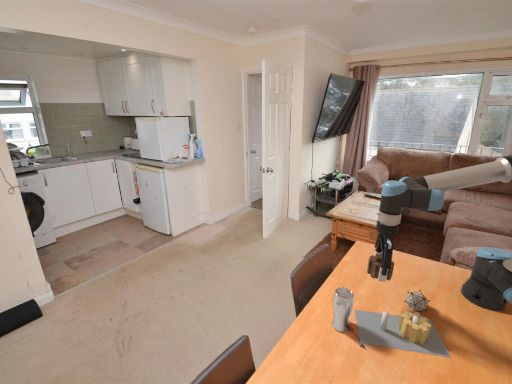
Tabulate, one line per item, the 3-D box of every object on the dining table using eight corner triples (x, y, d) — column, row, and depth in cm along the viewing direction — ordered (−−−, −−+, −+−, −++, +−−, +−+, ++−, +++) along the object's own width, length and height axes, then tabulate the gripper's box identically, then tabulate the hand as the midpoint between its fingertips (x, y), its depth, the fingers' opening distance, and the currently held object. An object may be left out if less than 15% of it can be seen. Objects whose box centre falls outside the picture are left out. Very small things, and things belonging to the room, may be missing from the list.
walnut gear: (388, 268, 109) (391, 256, 107) (394, 282, 101) (397, 269, 99) (365, 266, 111) (367, 253, 109) (369, 279, 103) (371, 266, 101)
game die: (418, 319, 108) (436, 314, 100) (399, 310, 109) (415, 304, 101) (418, 298, 114) (435, 291, 106) (399, 289, 114) (415, 282, 106)
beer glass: (337, 335, 96) (341, 301, 92) (327, 320, 103) (330, 288, 98) (353, 330, 98) (358, 297, 93) (343, 317, 105) (347, 285, 100)
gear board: (430, 323, 101) (435, 305, 99) (450, 361, 87) (456, 341, 84) (353, 312, 107) (356, 295, 104) (360, 346, 92) (363, 327, 89)
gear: (414, 321, 100) (417, 309, 98) (433, 341, 92) (437, 328, 90) (393, 325, 99) (395, 312, 97) (411, 346, 90) (414, 332, 88)
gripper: (372, 210, 109) (364, 257, 117) (383, 234, 89) (374, 289, 96) (391, 211, 108) (383, 259, 115) (408, 236, 88) (396, 292, 95)
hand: (379, 273), depth 106 cm, fingers closed on walnut gear, 9 cm apart
